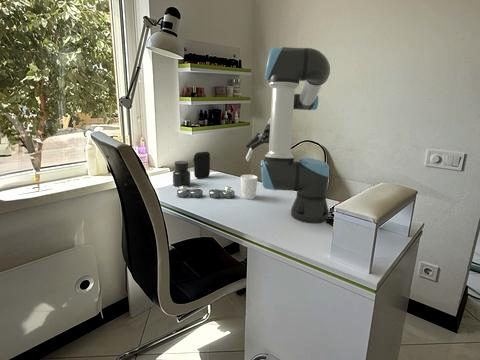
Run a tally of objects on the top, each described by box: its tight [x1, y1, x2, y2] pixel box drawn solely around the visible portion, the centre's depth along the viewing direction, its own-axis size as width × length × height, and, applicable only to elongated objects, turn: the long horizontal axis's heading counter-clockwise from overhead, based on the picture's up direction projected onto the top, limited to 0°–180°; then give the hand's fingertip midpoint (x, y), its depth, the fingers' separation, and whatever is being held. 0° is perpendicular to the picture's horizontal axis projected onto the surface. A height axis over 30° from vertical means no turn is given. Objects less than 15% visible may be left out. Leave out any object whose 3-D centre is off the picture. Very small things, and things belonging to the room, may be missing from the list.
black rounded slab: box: [192, 151, 211, 179], centre depth 179 cm, size 11×3×15 cm, turn 127°
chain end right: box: [208, 186, 236, 200], centre depth 150 cm, size 6×12×4 cm, turn 91°
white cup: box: [240, 174, 258, 200], centre depth 150 cm, size 8×8×10 cm
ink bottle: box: [172, 160, 191, 188], centre depth 166 cm, size 10×9×12 cm
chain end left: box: [176, 186, 204, 199], centre depth 150 cm, size 6×12×4 cm, turn 91°
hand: (259, 161), depth 156 cm, fingers open, 13 cm apart
